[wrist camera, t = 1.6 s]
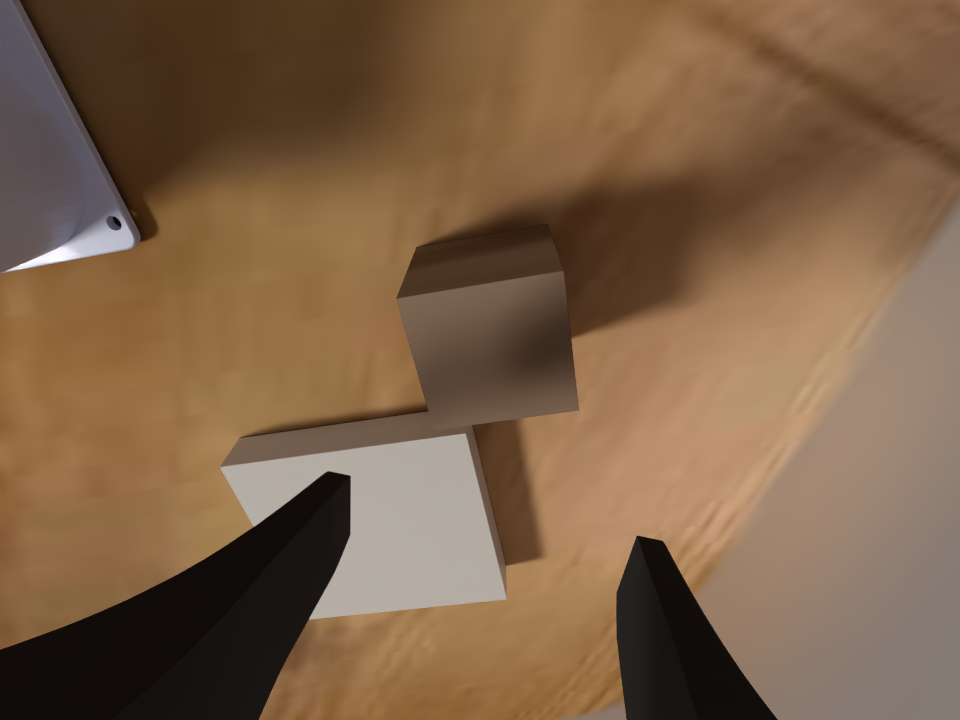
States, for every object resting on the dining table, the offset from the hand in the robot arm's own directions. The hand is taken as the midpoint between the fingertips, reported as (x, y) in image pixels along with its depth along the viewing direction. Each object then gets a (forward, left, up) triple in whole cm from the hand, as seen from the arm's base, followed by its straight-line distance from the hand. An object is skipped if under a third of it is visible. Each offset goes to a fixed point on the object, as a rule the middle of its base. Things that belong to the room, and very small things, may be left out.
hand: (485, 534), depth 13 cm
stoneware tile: (+8, -7, -10) cm, 15 cm away
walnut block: (-2, +1, -10) cm, 10 cm away
